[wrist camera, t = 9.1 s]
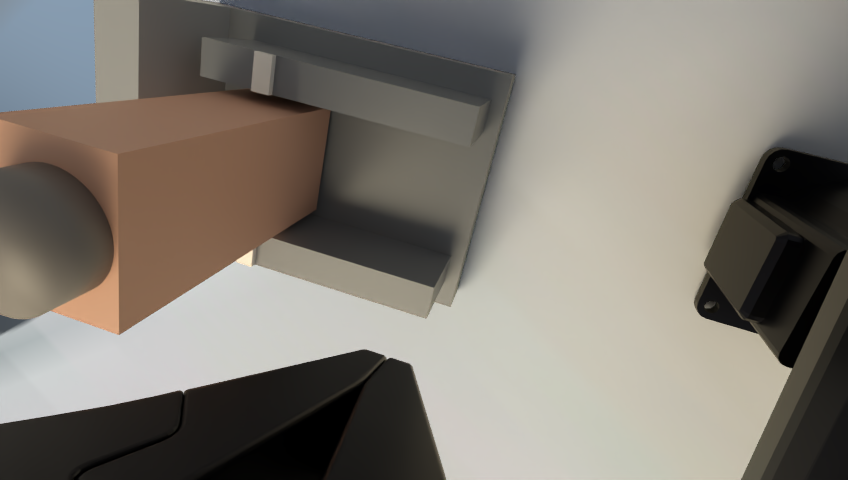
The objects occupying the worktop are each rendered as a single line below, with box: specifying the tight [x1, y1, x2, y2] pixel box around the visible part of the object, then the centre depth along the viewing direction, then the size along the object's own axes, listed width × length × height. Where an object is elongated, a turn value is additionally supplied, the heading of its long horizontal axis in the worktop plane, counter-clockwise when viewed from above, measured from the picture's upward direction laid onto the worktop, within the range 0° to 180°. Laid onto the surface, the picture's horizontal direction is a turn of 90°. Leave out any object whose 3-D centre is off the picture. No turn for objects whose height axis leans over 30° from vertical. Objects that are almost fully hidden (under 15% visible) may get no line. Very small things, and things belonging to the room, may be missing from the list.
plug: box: [0, 89, 331, 335], centre depth 15 cm, size 3×4×11 cm
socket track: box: [94, 0, 516, 318], centre depth 18 cm, size 12×9×6 cm
